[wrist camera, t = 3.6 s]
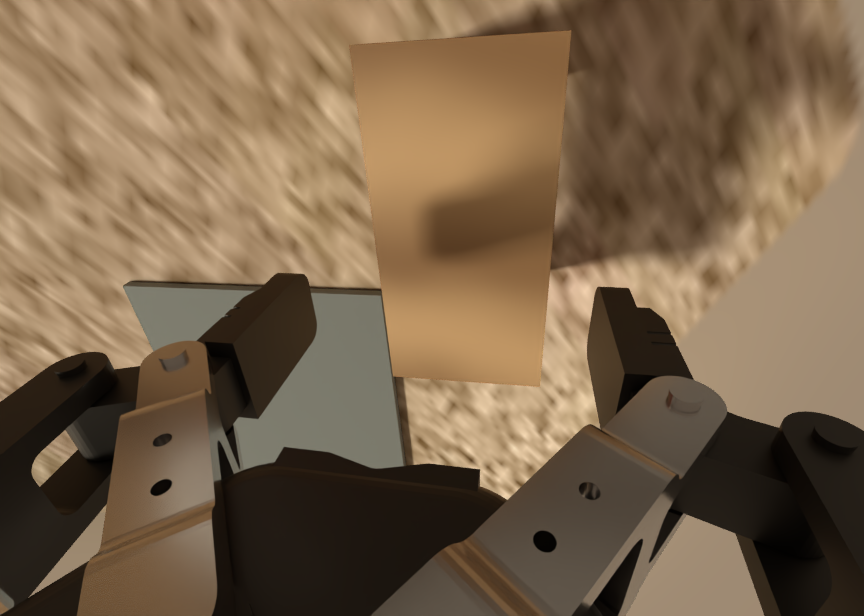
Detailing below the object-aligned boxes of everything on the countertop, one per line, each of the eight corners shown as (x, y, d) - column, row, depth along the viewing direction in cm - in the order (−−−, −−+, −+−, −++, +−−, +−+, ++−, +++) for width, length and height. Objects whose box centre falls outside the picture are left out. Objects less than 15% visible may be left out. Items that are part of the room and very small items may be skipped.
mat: (129, 281, 30) (122, 285, 30) (383, 290, 27) (380, 295, 27) (218, 474, 41) (214, 480, 40) (410, 497, 38) (408, 504, 37)
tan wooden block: (414, 40, 20) (349, 45, 12) (552, 30, 19) (571, 30, 11) (430, 277, 26) (393, 376, 19) (534, 280, 25) (539, 386, 18)
